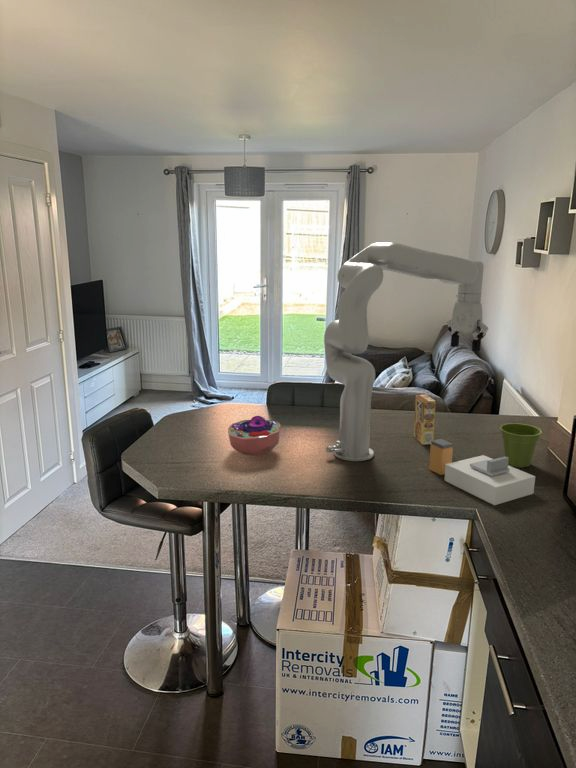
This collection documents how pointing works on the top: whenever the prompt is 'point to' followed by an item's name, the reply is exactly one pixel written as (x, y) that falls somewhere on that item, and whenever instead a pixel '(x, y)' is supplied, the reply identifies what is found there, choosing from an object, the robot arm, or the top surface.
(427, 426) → the candy box
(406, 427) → the top surface
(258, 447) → the cell model
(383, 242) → the robot arm
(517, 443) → the plant pot
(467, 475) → the socket
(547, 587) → the top surface
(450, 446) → the tan boxy piece
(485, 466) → the grey block
